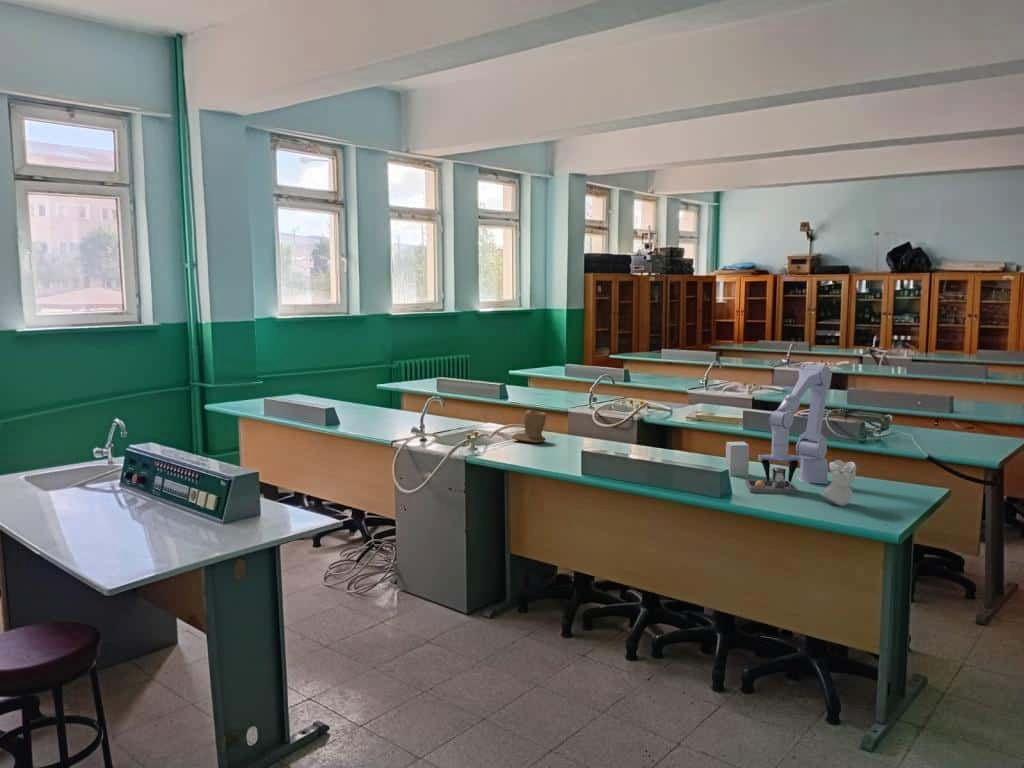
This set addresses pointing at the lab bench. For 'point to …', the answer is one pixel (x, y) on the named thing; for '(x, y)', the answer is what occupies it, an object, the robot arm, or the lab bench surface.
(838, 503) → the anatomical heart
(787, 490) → the tray
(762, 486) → the ball
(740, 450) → the supplement box
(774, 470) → the shaker
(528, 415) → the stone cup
